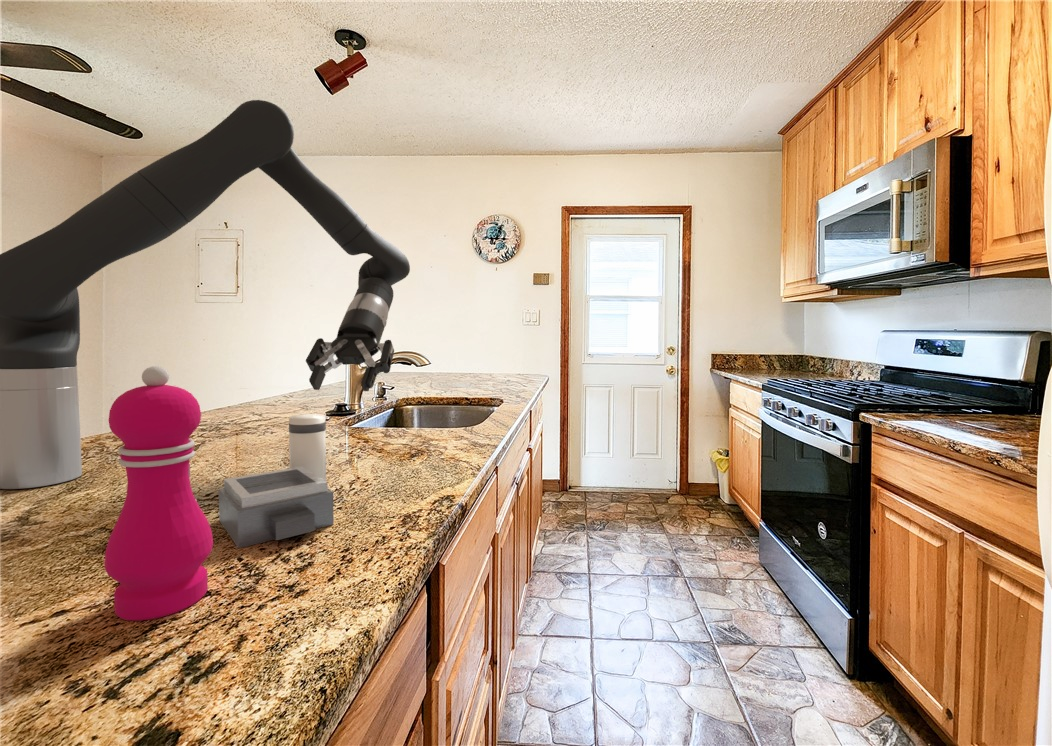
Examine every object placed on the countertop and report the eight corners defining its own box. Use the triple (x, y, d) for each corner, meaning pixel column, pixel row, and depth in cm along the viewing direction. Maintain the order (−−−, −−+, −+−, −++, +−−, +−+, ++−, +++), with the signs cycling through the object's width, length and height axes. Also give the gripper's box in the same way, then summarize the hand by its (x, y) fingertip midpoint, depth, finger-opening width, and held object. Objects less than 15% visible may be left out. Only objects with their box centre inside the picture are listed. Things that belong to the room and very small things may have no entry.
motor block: (219, 520, 57) (218, 478, 57) (305, 502, 64) (305, 465, 64) (244, 556, 48) (242, 506, 48) (341, 530, 55) (340, 487, 55)
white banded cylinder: (285, 489, 69) (284, 416, 68) (319, 483, 72) (318, 412, 72) (296, 498, 65) (294, 420, 65) (331, 491, 69) (330, 417, 68)
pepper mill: (233, 587, 42) (228, 365, 41) (146, 634, 35) (135, 370, 34) (177, 572, 45) (170, 362, 43) (85, 614, 38) (73, 366, 36)
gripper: (321, 306, 87) (289, 372, 76) (397, 307, 86) (375, 374, 76) (334, 335, 93) (306, 400, 82) (405, 336, 92) (386, 402, 81)
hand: (339, 387), depth 79 cm, fingers open, 8 cm apart
